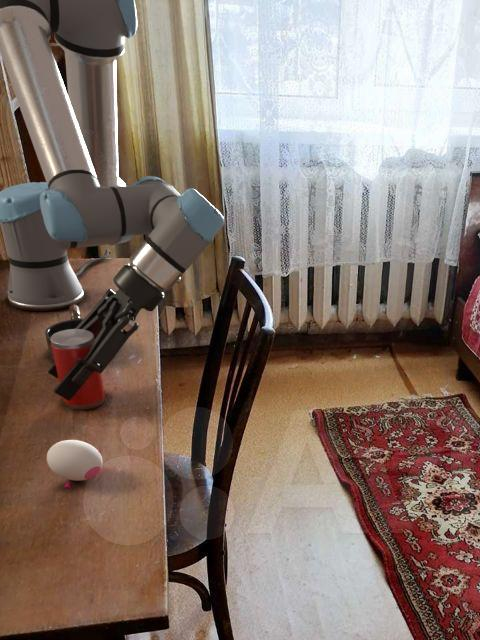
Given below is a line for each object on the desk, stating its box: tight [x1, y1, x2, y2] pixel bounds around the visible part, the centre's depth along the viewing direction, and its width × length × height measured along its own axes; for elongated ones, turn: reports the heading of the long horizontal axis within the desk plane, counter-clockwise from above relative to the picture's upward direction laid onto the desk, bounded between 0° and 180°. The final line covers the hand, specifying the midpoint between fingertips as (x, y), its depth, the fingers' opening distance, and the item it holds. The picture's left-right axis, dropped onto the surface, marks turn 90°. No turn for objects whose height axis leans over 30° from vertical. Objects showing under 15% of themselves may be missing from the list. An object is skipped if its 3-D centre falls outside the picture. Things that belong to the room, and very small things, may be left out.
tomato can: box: [51, 329, 106, 411], centre depth 108 cm, size 7×7×12 cm
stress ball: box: [46, 439, 104, 489], centre depth 93 cm, size 8×8×7 cm
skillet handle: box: [69, 304, 83, 320], centre depth 131 cm, size 8×2×2 cm, turn 23°
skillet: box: [44, 318, 84, 362], centre depth 125 cm, size 11×11×4 cm
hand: (58, 385), depth 108 cm, fingers closed on tomato can, 7 cm apart
